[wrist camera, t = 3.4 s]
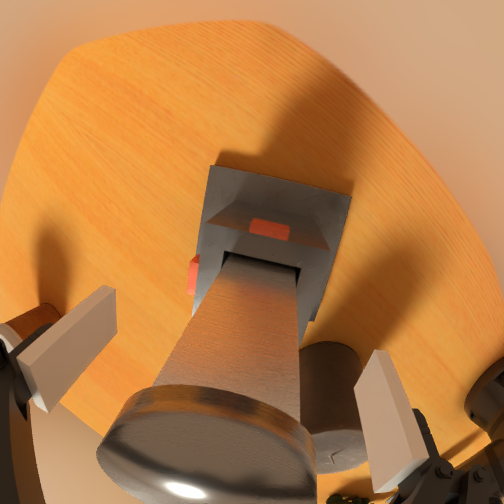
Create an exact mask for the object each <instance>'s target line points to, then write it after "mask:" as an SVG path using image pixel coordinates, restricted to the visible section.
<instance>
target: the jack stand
mask: <svg viewBox="0 0 504 504" xmlns="http://www.w3.org/2000/svg"><path fill="white" fill-rule="evenodd" d="M351 198H352V197H351V196H349V195H346V194H342V193H339V192H335V191H331V190H327V189H323V188H319V187H315V186H311V185H307V184H303V183H299V182H295V181H291V180H286V179H282V178H278V177H273V176H268V175H264V174H259V173H254V172H249V171H244V170H239V169H234V168H229V167H223V166H218V165H210V170H209V176H208V181H207V187H206V193H205V199H204V205H203V211H202V217H201V223H200V230H199V236H198V243H197V250H196V256H195V257H194V258H193V259H192V260H191V261H190V267H189V275H188V284H187V292H186V293H187V294H191V295H194V304H193V312H192V317H193V315H194V313H195V312H196V310H197V308H198V307H199V305H200V303H201V302H202V300H203V298H204V297H205V295H206V293H207V292H208V290H209V288H210V287H211V285H212V283H213V282H214V280H215V278H216V277H217V275H218V273H219V272H220V270H221V268H222V267H223V265H224V263H225V262H226V260H227V258H228V257H229V255H230V253H231V252H234V253H238V254H242V255H247V256H251V257H255V258H260V259H264V260H268V261H273V262H277V263H281V264H286V265H290V266H294V267H295V281H296V299H297V319H298V343H299V347H300V344H301V341H302V339H303V336H304V333H305V330H306V327H307V324H308V322H309V321H313V322H314V320H315V317H316V314H317V311H318V309H319V306H320V303H321V300H322V297H323V294H324V291H325V288H326V285H327V281H328V278H329V275H330V272H331V269H332V266H333V262H334V259H335V256H336V252H337V249H338V246H339V242H340V239H341V235H342V232H343V228H344V224H345V221H346V217H347V213H348V209H349V206H350V202H351Z"/></svg>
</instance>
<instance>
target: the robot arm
mask: <svg viewBox="0 0 504 504" xmlns="http://www.w3.org/2000/svg"><path fill="white" fill-rule="evenodd" d="M116 333H117V321H116V294H115V289H114V288H111V287H108V286H105V285H103V286H101V287H100V288H99V289H97V290H96V291H95V292H94V293H92V294H91V295H90V296H88V297H87V298H86V299H85V300H83V301H82V302H81V303H80V304H78V305H77V306H76V307H75V308H73V309H72V310H71V311H70V312H68V313H67V314H66V315H65V316H64V317H62V318H61V319H60V320H59V321H58V322H56V323H55V324H52V323H51V322H50V323H47V324H45V325H42V326H40V327H39V328H38V329H37V330H35V331H34V332H33V333H32V334H31V335H29V336H28V338H26V339H25V340H23V341H22V342H21V343H20V344H19V345H18V346H16V347H15V348H14V349H13V350H12V351H11V352H9V353H8V351H7V348H6V345H5V343H4V341H3V340H2V339H0V504H46V503H45V500H44V496H43V492H42V488H41V483H40V479H39V474H38V469H37V464H36V458H35V452H34V445H33V437H32V429H31V418H30V405H29V402H28V400H29V399H30V398H31V397H32V398H33V400H34V402H35V404H36V406H38V407H39V408H41V409H42V410H44V411H45V412H47V413H50V411H51V410H52V409H53V408H54V407H55V405H56V404H57V403H58V402H59V400H60V399H61V398H62V397H63V395H64V394H65V393H66V392H67V391H68V389H69V388H70V387H71V386H72V385H73V383H74V382H75V381H76V380H77V379H78V377H79V376H80V375H81V374H82V373H83V371H84V370H85V369H86V368H87V367H88V366H89V364H90V363H91V362H92V361H93V360H94V359H95V357H96V356H97V355H98V354H99V353H100V352H101V351H102V349H103V348H104V347H105V346H106V345H107V344H108V343H109V341H110V340H111V339H112V338H113V337H114V336H115V335H116ZM354 392H355V397H356V401H357V405H358V410H359V415H360V419H361V424H362V429H363V434H364V439H365V444H366V449H367V455H368V460H369V466H370V472H371V478H372V484H373V491H374V493H381V492H390V491H391V490H392V489H394V488H395V487H396V486H397V485H398V488H399V491H398V492H397V493H396V494H394V495H393V496H392V497H390V498H389V499H388V500H387V501H386V502H385V503H388V502H389V501H391V502H390V503H389V504H503V503H502V500H501V499H502V498H503V497H504V358H502V359H500V360H499V361H498V362H496V363H495V364H494V365H493V366H491V367H490V368H489V369H488V370H487V371H486V372H485V373H484V374H483V375H482V376H481V377H480V379H479V380H478V381H477V382H476V383H475V385H474V386H473V388H472V389H471V391H470V392H469V394H468V396H467V398H466V401H465V405H464V409H465V412H466V413H467V415H468V417H469V419H470V420H471V421H473V422H474V423H475V424H476V425H478V426H479V427H480V428H482V429H483V430H484V431H485V432H487V434H488V435H489V437H490V439H491V443H490V444H488V445H487V446H486V447H484V448H483V449H482V450H480V451H479V452H477V453H476V454H475V455H473V456H472V457H470V458H469V459H467V460H466V461H464V462H463V463H461V464H460V465H458V466H456V467H455V468H454V467H453V466H452V464H451V463H449V462H448V461H446V460H443V459H440V456H439V453H438V451H437V448H436V445H435V442H434V440H433V437H432V434H430V429H429V427H428V424H427V422H426V419H425V417H424V415H423V414H422V413H421V412H420V411H419V410H418V409H412V408H411V405H410V403H409V400H408V398H407V395H406V393H405V390H404V388H403V386H402V383H401V381H400V378H399V376H398V374H397V371H396V369H395V367H394V364H393V362H392V360H391V358H390V355H389V353H388V351H383V350H376V349H375V350H374V352H373V354H372V356H371V357H370V359H369V361H368V363H367V365H366V367H365V369H364V371H363V373H362V374H361V376H360V378H359V380H358V382H357V383H356V385H355V387H354Z"/></svg>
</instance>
